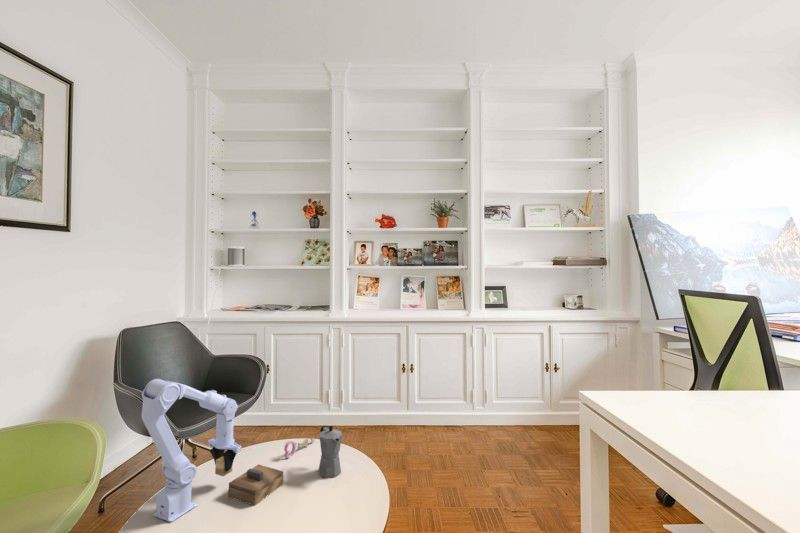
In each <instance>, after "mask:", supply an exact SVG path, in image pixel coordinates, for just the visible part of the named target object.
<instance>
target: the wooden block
mask: <svg viewBox="0 0 800 533" xmlns="http://www.w3.org/2000/svg"><path fill="white" fill-rule="evenodd" d="M233 464H234V463H233ZM233 464H232V467H231V469H230V470H228V471H225V461H224V457H223V456H222V457H220V458H219V459H217V460H216V465H215V475H216V476H217V475H218V476H221V477H225V476H227V475H228V474H230V473H232V472H233Z"/></svg>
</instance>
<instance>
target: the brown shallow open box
mask: <svg viewBox="0 0 800 533" xmlns="http://www.w3.org/2000/svg"><path fill="white" fill-rule="evenodd" d="M282 484H283V485H284V474H283V475H281V476H280V477H279V478H277V479H276V480H274V481H273V482H272V483H270V484H269V485H267V486H266V487H265V488H263V489H262V490H261V491H259V492H258V493H256V494H252V493H249V492H246V491H243V490H240V489H237V488H234V487H231V486H229V485H228V495H227V496H228V497H229V498H232V499H234V498H235V499H234V500H237V499H238V501H240V500H241V501H240V502H243V501H244V502H243V503H246V502H247V503H246V504H249V503H250V504H249V505H252V506H256V505H257V504H259V503H260V502H262V501H263V500H264V499H265V498H267V497H268V496H269V495H271V494H272V493H274V492H275V491H276V490H277V489H279V488H280V487H282V486H283V485H282ZM274 490H275V491H274ZM270 493H271V494H270ZM267 495H268V496H267ZM266 496H267V497H266ZM263 498H264V499H263ZM262 499H263V500H262ZM258 502H259V503H258Z"/></svg>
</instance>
